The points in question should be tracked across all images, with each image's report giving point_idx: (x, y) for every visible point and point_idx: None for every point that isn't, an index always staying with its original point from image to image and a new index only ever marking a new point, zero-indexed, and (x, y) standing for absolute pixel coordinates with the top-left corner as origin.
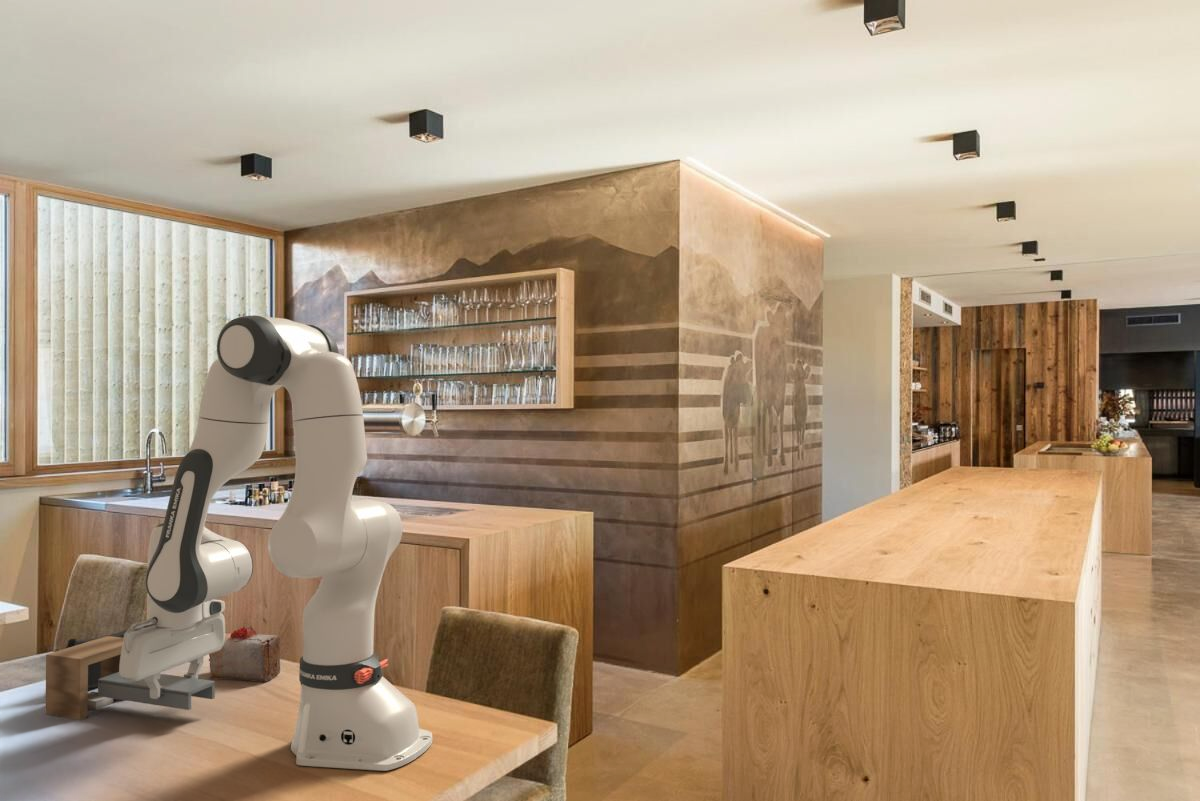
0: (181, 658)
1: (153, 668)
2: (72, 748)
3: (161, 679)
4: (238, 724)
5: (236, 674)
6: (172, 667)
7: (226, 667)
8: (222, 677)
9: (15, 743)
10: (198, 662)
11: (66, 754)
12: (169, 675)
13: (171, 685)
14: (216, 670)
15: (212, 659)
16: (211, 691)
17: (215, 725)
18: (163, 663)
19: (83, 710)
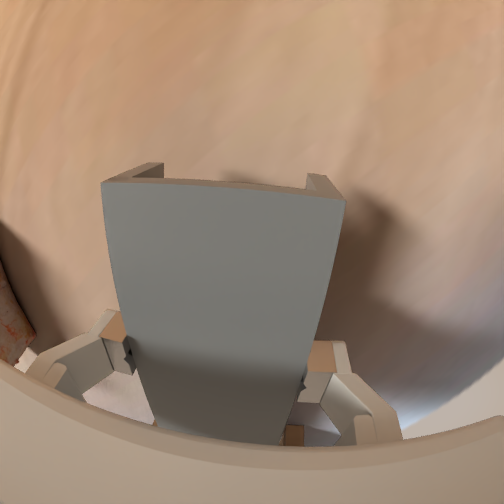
0: (186, 476)
1: (454, 465)
2: (450, 350)
3: (201, 415)
4: (231, 8)
5: (2, 285)
6: (282, 448)
7: (4, 316)
8: (22, 312)
9: (408, 422)
10: (60, 369)
11: (475, 337)
12: (156, 409)
13: (253, 361)
14: (20, 333)
15: (12, 357)
16: (146, 176)
17: (264, 76)
18: (380, 492)
19: (295, 438)
